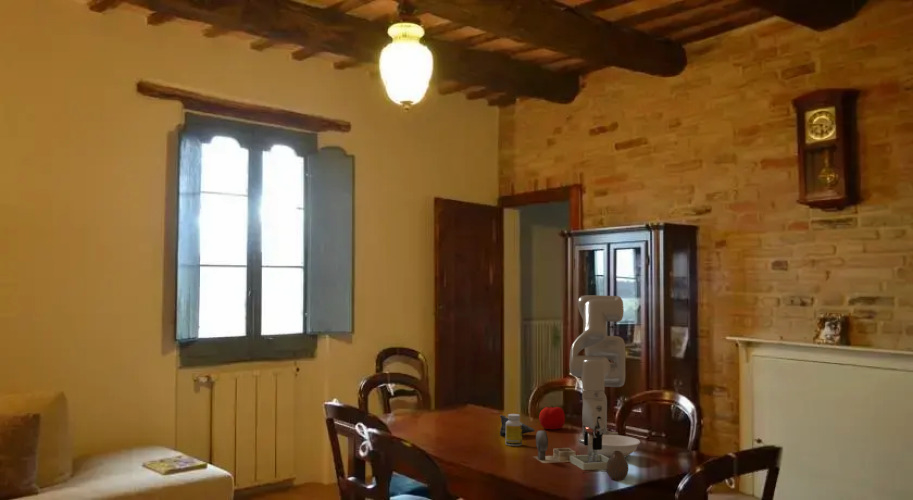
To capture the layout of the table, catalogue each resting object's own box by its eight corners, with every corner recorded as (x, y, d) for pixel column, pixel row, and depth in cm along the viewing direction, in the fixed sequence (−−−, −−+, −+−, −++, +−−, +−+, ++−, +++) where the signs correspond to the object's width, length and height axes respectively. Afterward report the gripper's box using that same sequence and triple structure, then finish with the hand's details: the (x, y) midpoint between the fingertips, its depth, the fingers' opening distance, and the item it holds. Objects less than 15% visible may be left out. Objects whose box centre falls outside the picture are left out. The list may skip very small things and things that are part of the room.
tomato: (571, 429, 337) (571, 405, 338) (549, 432, 330) (549, 408, 331) (554, 425, 347) (554, 402, 347) (532, 428, 339) (532, 404, 340)
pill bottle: (520, 447, 300) (521, 416, 300) (504, 446, 301) (504, 415, 302) (522, 443, 306) (523, 413, 307) (506, 442, 308) (506, 413, 308)
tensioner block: (569, 457, 283) (569, 427, 283) (580, 464, 273) (580, 432, 273) (532, 459, 279) (533, 428, 280) (542, 465, 270) (542, 433, 270)
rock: (494, 433, 327) (493, 432, 318) (501, 414, 329) (500, 413, 319) (528, 447, 325) (528, 447, 315) (535, 428, 326) (535, 427, 317)
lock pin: (595, 463, 270) (595, 425, 270) (601, 467, 266) (601, 428, 266) (583, 464, 269) (583, 426, 269) (589, 468, 265) (588, 429, 265)
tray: (601, 463, 275) (601, 454, 275) (616, 471, 263) (616, 462, 263) (569, 464, 272) (569, 455, 272) (583, 472, 260) (583, 463, 260)
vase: (604, 480, 252) (605, 452, 252) (608, 475, 258) (608, 448, 258) (626, 482, 249) (626, 454, 249) (629, 477, 256) (629, 450, 256)
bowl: (629, 466, 271) (629, 447, 271) (576, 458, 281) (576, 441, 282) (647, 456, 288) (647, 438, 288) (597, 449, 298) (597, 432, 298)
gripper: (614, 398, 261) (613, 452, 260) (593, 391, 278) (592, 441, 277) (593, 398, 259) (593, 453, 259) (573, 391, 276) (572, 442, 275)
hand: (592, 446), depth 268 cm, fingers open, 6 cm apart
